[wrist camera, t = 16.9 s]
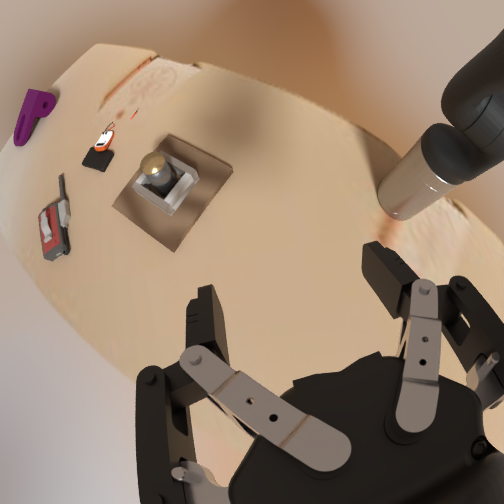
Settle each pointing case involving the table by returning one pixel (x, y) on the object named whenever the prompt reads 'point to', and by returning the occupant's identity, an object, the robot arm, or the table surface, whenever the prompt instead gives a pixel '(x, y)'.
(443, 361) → the table surface
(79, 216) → the table surface
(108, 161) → the multimeter
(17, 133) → the mounting bracket
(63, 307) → the table surface
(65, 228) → the walkie-talkie
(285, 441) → the robot arm
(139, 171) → the dock board
